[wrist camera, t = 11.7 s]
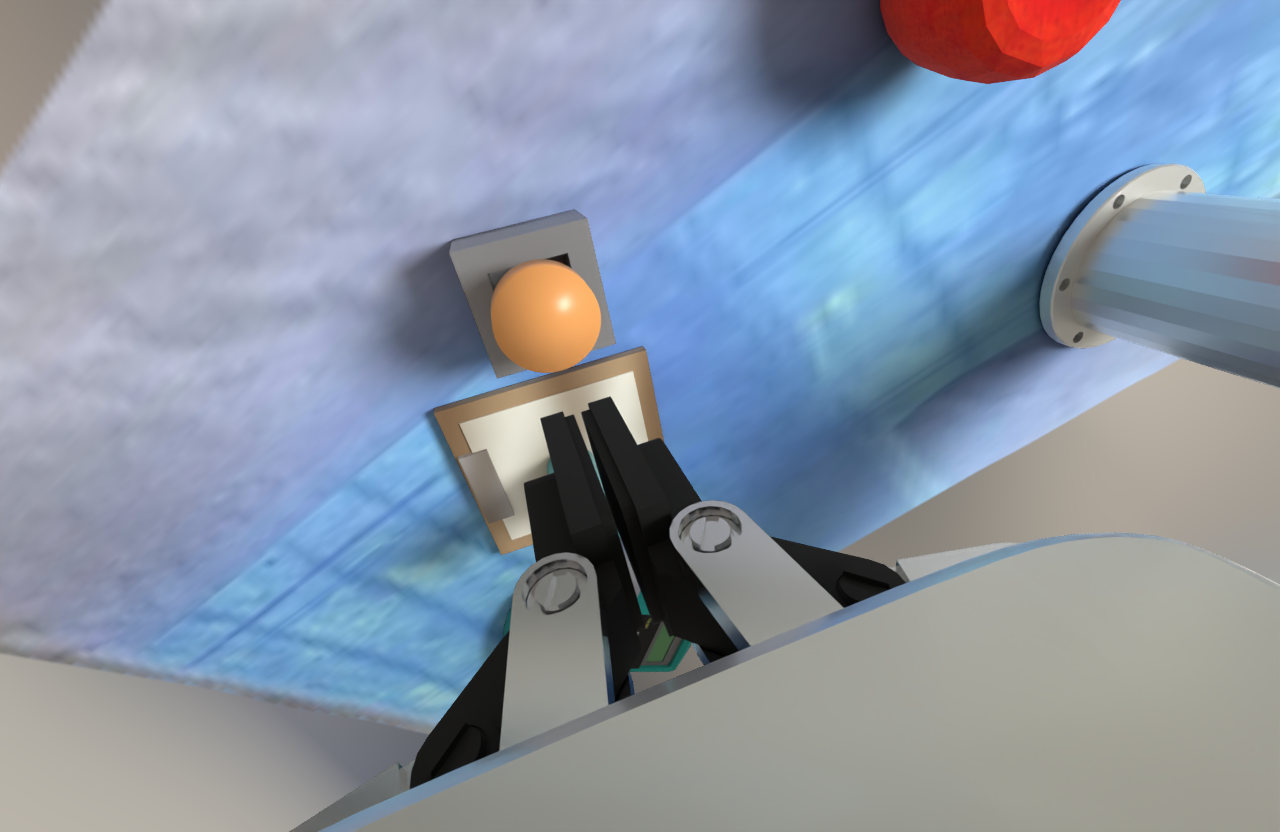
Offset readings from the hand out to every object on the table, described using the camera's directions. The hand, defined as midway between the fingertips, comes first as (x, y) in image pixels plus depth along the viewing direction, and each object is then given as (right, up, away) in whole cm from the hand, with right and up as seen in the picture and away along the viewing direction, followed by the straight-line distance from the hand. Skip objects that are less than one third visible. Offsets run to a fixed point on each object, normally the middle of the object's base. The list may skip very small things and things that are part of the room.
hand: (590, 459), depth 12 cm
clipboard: (-3, -1, +19) cm, 20 cm away
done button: (-4, +7, +12) cm, 14 cm away
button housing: (-4, +8, +14) cm, 16 cm away
